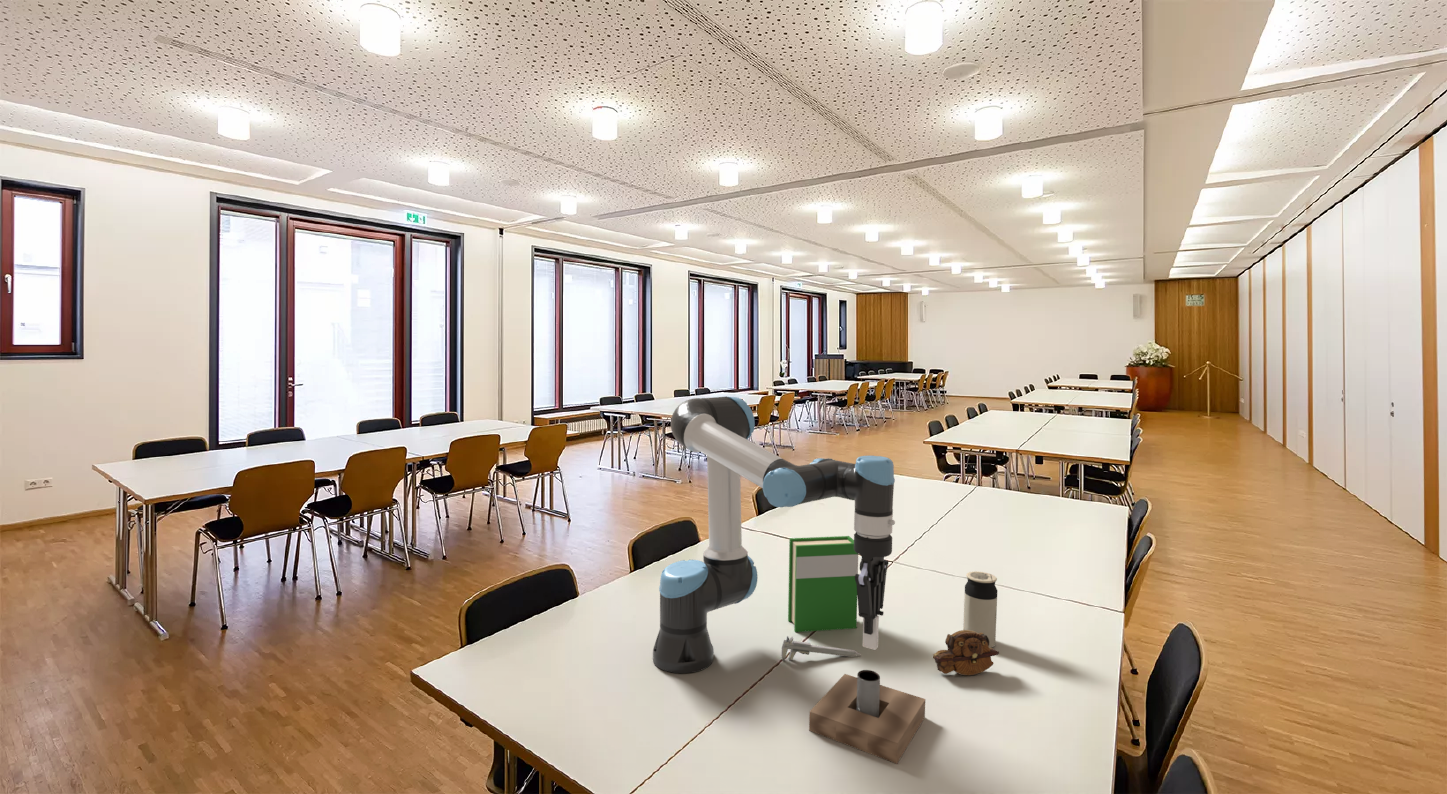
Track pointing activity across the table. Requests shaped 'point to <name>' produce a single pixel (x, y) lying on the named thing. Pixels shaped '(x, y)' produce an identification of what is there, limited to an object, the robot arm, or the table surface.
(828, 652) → the caliper
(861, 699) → the grey metal tube
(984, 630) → the travel mug
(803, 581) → the hardback book
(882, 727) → the socket board
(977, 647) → the wooden carving
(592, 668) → the table surface
